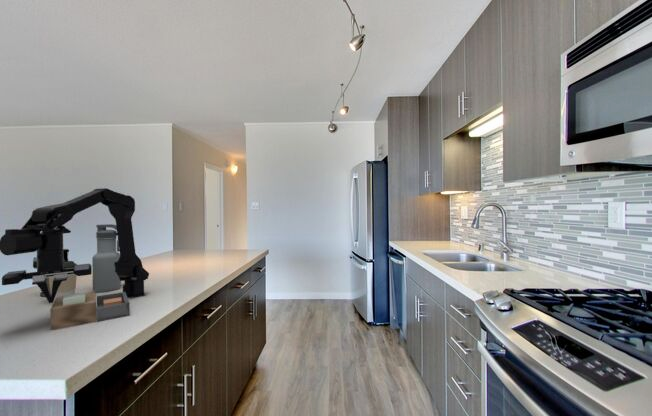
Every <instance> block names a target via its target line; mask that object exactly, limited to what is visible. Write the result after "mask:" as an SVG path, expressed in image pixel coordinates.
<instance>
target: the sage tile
mask: <svg viewBox="0 0 652 416" xmlns="http://www.w3.org/2000/svg"><path fill="white" fill-rule="evenodd" d="M86 292H87V291H86ZM86 292H85V291H84V292H77V293H76V292H75V294H69V295H64V298H63V306H65V305H71V304H77V303H83V302H85V299H86Z"/></svg>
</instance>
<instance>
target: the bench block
mask: <svg viewBox="0 0 652 416" xmlns="http://www.w3.org/2000/svg"><path fill="white" fill-rule="evenodd" d="M63 298H64V296H58V297H56V299H55V301H54V303H53V304H51V308H50V309H49V310H50V331H51V330H52V331H56V330H61V329H66V328H71V327H77V326H80V325H85V324H90V323H97V292H96V291H93V290H92V291H86V299H85V302H83V303H77V304H71V305H65V306H63Z"/></svg>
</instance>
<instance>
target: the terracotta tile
mask: <svg viewBox="0 0 652 416" xmlns="http://www.w3.org/2000/svg"><path fill="white" fill-rule="evenodd" d="M117 304H122V299H121V297H119V298H113V299H107V300H104V307H105V306H111V305H117Z"/></svg>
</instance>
